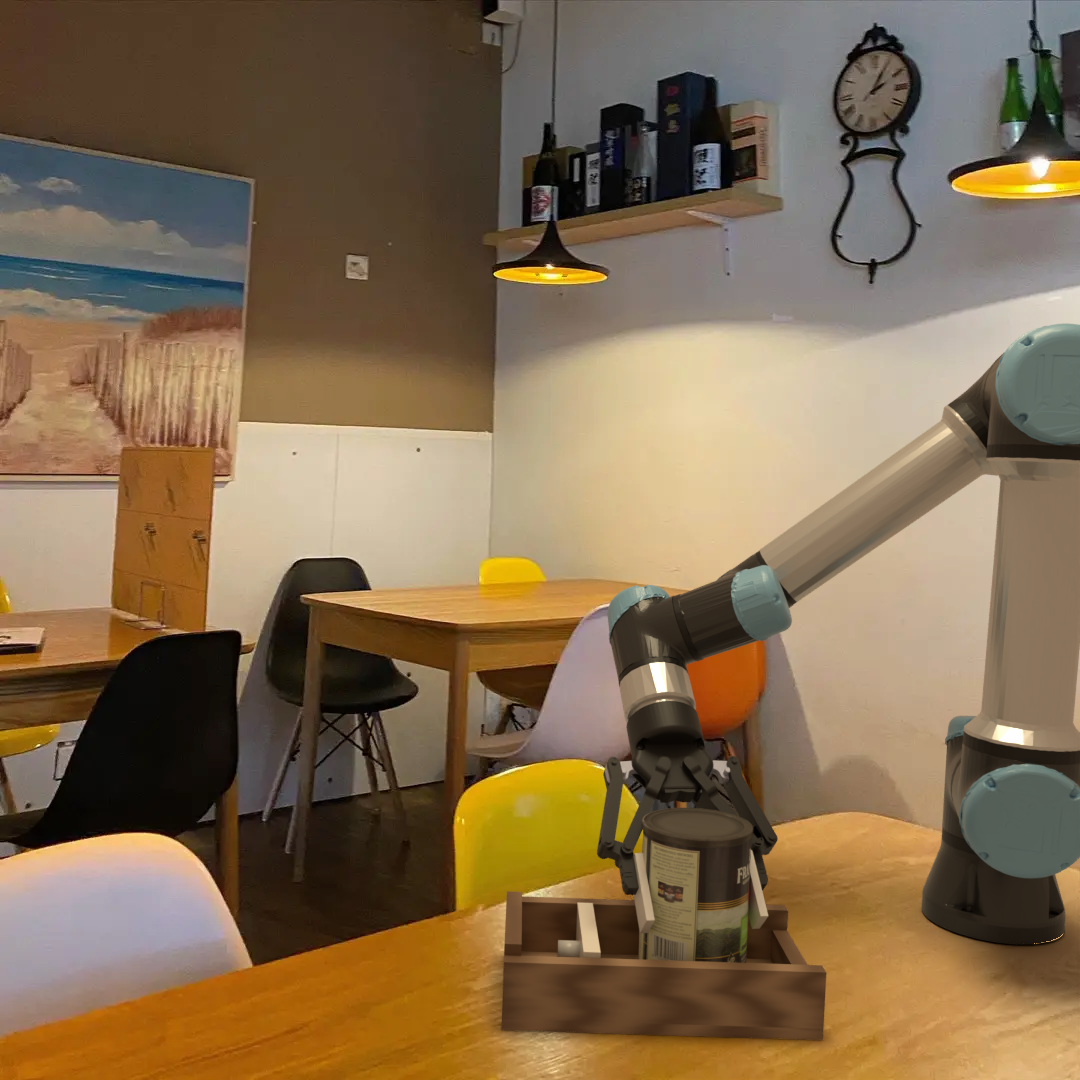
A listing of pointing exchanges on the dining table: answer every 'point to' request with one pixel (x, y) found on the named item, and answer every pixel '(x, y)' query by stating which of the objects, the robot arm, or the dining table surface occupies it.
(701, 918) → the coffee can
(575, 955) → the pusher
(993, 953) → the dining table surface
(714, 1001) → the wooden tray
